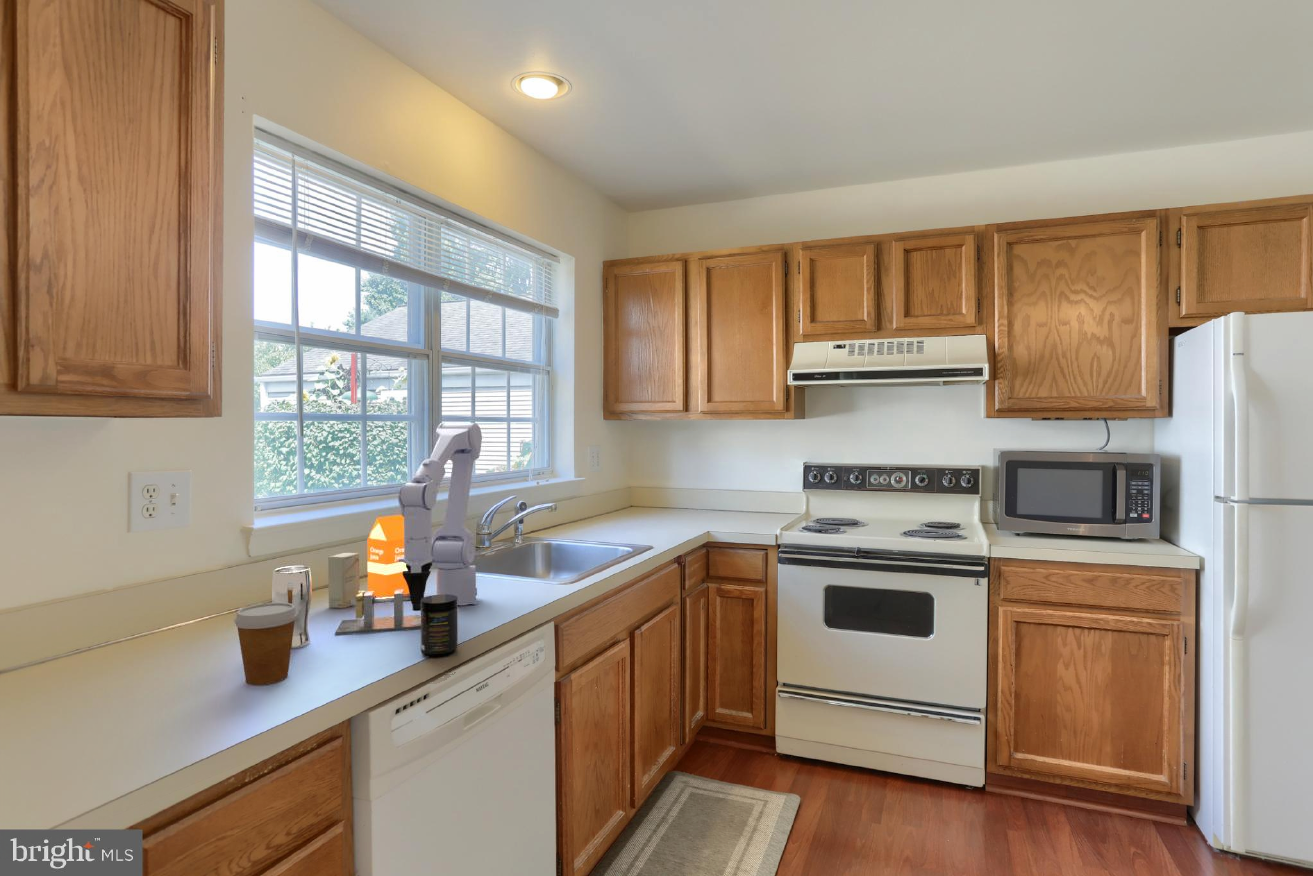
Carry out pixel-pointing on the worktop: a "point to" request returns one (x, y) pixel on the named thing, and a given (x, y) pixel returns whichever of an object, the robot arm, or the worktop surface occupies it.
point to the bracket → (380, 623)
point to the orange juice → (386, 557)
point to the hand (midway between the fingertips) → (418, 599)
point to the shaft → (391, 601)
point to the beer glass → (295, 598)
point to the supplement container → (439, 625)
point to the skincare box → (343, 579)
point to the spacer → (360, 604)
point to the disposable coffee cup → (266, 641)
